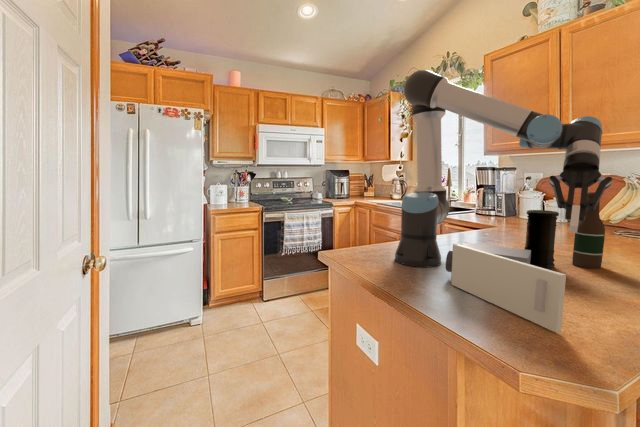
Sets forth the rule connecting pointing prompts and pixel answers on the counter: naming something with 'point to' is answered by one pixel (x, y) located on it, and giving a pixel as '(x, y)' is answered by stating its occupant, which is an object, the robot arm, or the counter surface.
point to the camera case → (500, 251)
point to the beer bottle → (589, 239)
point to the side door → (511, 285)
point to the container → (541, 237)
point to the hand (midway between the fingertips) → (573, 229)
